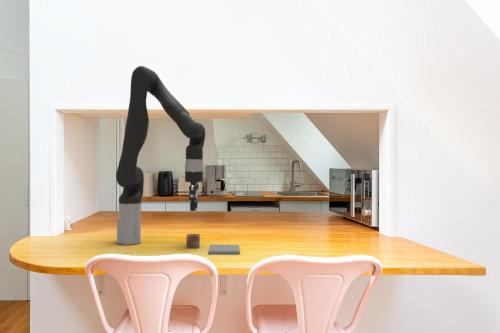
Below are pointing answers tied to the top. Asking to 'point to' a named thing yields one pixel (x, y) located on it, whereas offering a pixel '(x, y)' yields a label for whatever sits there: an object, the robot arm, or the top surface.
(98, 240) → the top surface
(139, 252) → the top surface
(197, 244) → the walnut cube
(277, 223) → the top surface
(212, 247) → the plate
